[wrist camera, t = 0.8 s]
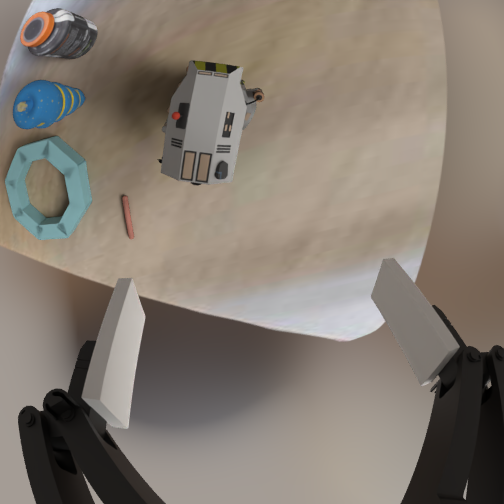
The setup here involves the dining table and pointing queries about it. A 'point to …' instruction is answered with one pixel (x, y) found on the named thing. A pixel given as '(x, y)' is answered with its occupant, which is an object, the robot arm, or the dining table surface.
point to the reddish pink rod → (128, 217)
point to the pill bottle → (58, 34)
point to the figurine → (207, 123)
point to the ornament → (45, 104)
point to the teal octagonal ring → (75, 183)
